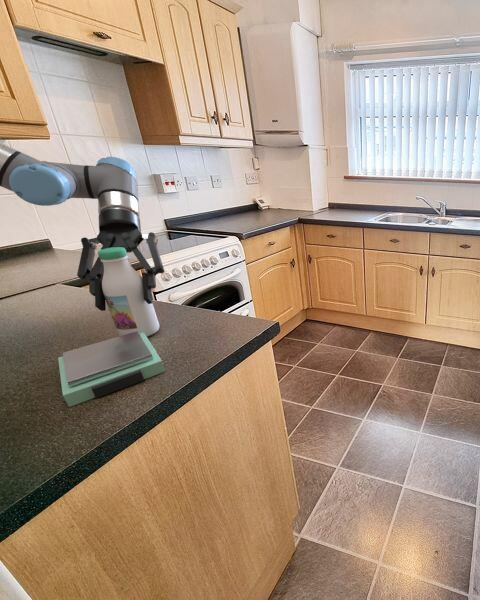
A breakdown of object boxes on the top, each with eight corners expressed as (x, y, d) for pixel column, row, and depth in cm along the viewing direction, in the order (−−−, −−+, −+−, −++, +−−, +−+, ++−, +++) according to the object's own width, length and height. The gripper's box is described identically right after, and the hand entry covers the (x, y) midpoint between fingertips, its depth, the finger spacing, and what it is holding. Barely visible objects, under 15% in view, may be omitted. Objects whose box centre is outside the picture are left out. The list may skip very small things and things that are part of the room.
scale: (63, 368, 67) (57, 357, 66) (147, 341, 76) (143, 332, 75) (69, 409, 56) (63, 397, 55) (166, 373, 65) (162, 362, 64)
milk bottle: (152, 322, 84) (126, 242, 75) (166, 330, 79) (139, 248, 71) (114, 334, 78) (81, 250, 70) (127, 344, 74) (94, 256, 66)
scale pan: (64, 357, 65) (62, 352, 65) (139, 334, 73) (137, 330, 72) (69, 387, 57) (67, 382, 56) (153, 358, 64) (151, 354, 64)
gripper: (175, 222, 86) (184, 303, 80) (72, 229, 78) (73, 319, 72) (166, 204, 80) (175, 289, 73) (53, 209, 72) (52, 306, 65)
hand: (124, 304), depth 72 cm, fingers closed on milk bottle, 8 cm apart
